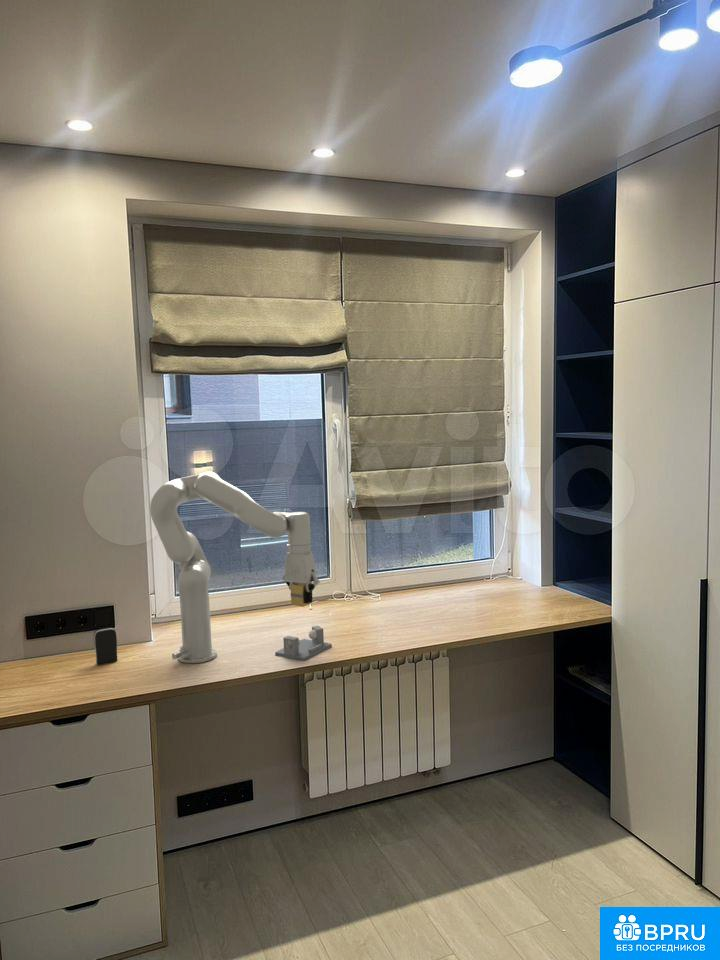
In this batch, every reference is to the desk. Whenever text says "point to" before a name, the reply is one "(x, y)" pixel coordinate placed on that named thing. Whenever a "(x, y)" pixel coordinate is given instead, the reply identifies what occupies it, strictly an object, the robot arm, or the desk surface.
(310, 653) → the grey mounting bracket
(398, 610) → the desk surface
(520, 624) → the desk surface
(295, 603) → the yellow rectangular block
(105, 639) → the battery charger
